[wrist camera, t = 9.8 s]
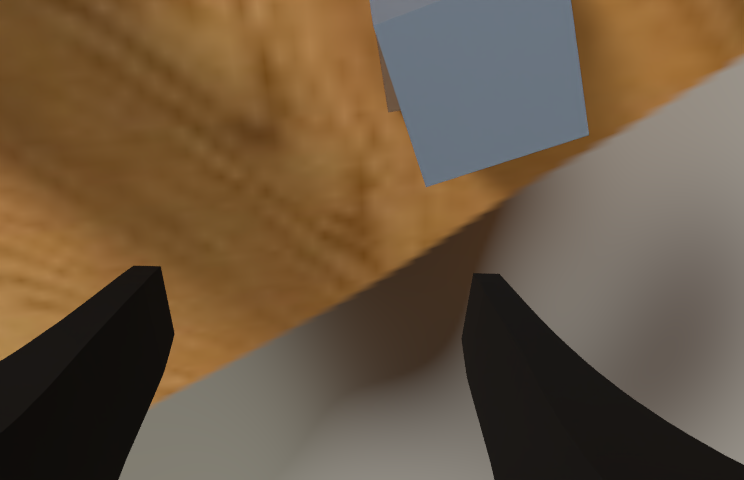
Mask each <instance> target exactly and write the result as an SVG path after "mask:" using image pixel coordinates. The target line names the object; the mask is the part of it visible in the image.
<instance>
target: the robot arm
mask: <svg viewBox="0 0 744 480" xmlns="http://www.w3.org/2000/svg"><path fill="white" fill-rule="evenodd" d="M173 338H174V329H173V324H172V319H171V314H170V310H169V305H168V300H167V295H166V290H165V285H164V281H163V276H162V271H161V266H133V267H131V268H130V269H128V270H127V271H125V272H124V273H123V274H121V275H120V276H119V277H117V278H116V279H115V280H113V281H112V282H111V283H110V284H108V285H107V286H106V287H104V288H103V289H102V290H101V291H99V292H98V293H97V294H95V295H94V296H93V297H91V298H90V299H89V300H88V301H86V302H85V303H84V304H82V305H81V306H80V307H78V308H77V309H76V310H74V311H73V312H72V313H70V314H69V315H68V316H66V317H65V318H64V319H62V320H61V321H59V322H58V323H57V324H55V325H54V326H52V327H51V328H49V329H48V330H46V331H45V332H44V333H42V334H41V335H39V336H38V337H36V338H35V339H33V340H32V341H31V342H29V343H28V344H26V345H25V346H23V347H22V348H20V349H19V350H17V351H16V352H14V353H13V354H11V355H9V356H8V357H6V358H5V359H3V360H1V361H0V480H118V479H119V476H120V474H121V471H122V469H123V466H124V464H125V461H126V458H127V456H128V454H129V452H130V449H131V447H132V445H133V443H134V440H135V438H136V436H137V434H138V431H139V429H140V427H141V424H142V422H143V420H144V418H145V415H146V413H147V411H148V408H149V406H150V404H151V402H152V399H153V397H154V395H155V392H156V390H157V388H158V385H159V383H160V381H161V378H162V376H163V373H164V370H165V367H166V363H167V360H168V357H169V353H170V349H171V345H172V342H173ZM462 345H463V353H464V360H465V367H466V373H467V379H468V383H469V386H470V390H471V394H472V398H473V401H474V405H475V409H476V412H477V416H478V419H479V422H480V426H481V430H482V433H483V437H484V441H485V444H486V448H487V452H488V455H489V459H490V462H491V467H492V471H493V475H494V479H495V480H744V465H743V464H741V463H739V462H737V461H735V460H733V459H731V458H729V457H727V456H725V455H723V454H722V453H720V452H718V451H716V450H714V449H713V448H711V447H709V446H708V445H706V444H704V443H702V442H700V441H699V440H697V439H695V438H693V437H692V436H690V435H688V434H686V433H685V432H683V431H682V430H680V429H679V428H677V427H675V426H674V425H672V424H670V423H669V422H667V421H666V420H664V419H663V418H661V417H659V416H658V415H657V414H655V413H654V412H652V411H651V410H649V409H647V408H646V407H645V406H643V405H642V404H640V403H639V402H637V401H636V400H634V399H633V398H631V397H630V396H629V395H627V394H626V393H624V392H623V391H622V390H620V389H619V388H618V387H617V386H615V385H614V384H613V383H611V382H610V381H609V380H608V379H606V378H605V377H604V376H602V375H601V374H600V373H599V372H597V371H596V370H595V369H594V368H593V367H591V366H590V365H589V364H588V363H587V362H586V361H584V360H583V359H582V358H581V357H580V356H579V355H578V354H577V353H576V352H574V351H573V350H572V349H571V348H570V347H569V346H568V345H567V344H565V342H563V341H562V340H561V339H560V338H559V337H558V336H557V335H556V334H555V333H554V332H553V331H552V330H551V329H550V328H549V327H548V326H547V325H546V324H545V323H544V322H543V321H542V320H541V319H540V318H539V317H538V316H537V315H536V314H535V312H534V311H533V310H531V308H530V307H529V306H528V305H527V304H526V303H525V302H524V301H523V300H522V298H521V297H520V296H519V295H518V294H517V293H516V292H515V291H514V290H513V288H512V287H511V286H510V285H509V284H508V283H507V282H506V281H505V280H504V279H503V277H502V276H501V275H500V274H479V273H474V274H473V279H472V284H471V289H470V295H469V300H468V306H467V312H466V317H465V323H464V329H463V334H462Z"/></svg>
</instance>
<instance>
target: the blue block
mask: <svg viewBox="0 0 744 480" xmlns="http://www.w3.org/2000/svg"><path fill="white" fill-rule="evenodd" d="M370 7H371V14H372V21H373V26H374V29H375V33H376V36H377V39H378V42H379V45H380V48H381V51H382V54H383V57H384V60H385V63H386V66H387V69H388V72H389V75H390V78H391V81H392V84H393V87H394V90H395V94H396V97H397V100H398V103H399V106H400V109H401V112H402V115H403V118H404V121H405V124H406V127H407V130H408V133H409V136H410V139H411V142H412V145H413V148H414V151H415V155H416V158H417V161H418V164H419V167H420V170H421V173H422V176H423V179H424V182H425V185H426V187H428V186H431V185H434V184H437V183H440V182H443V181H447V180H450V179H453V178H456V177H459V176H462V175H465V174H469V173H472V172H475V171H478V170H481V169H484V168H487V167H491V166H494V165H497V164H500V163H503V162H506V161H509V160H513V159H516V158H519V157H522V156H525V155H528V154H531V153H534V152H538V151H541V150H544V149H547V148H550V147H553V146H556V145H560V144H563V143H566V142H569V141H572V140H575V139H578V138H582V137H585V136H588V135H589V131H588V123H587V116H586V108H585V101H584V94H583V86H582V79H581V71H580V64H579V56H578V49H577V42H576V34H575V27H574V19H573V12H572V5H571V0H370Z"/></svg>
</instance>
